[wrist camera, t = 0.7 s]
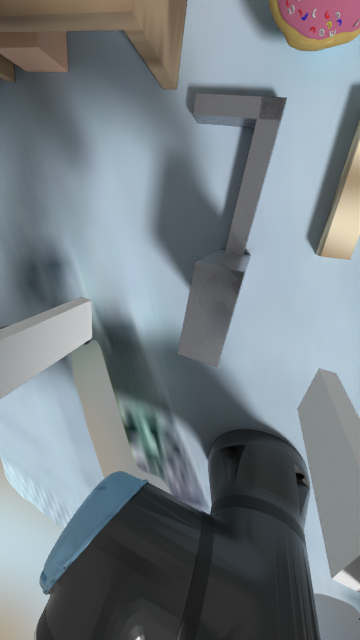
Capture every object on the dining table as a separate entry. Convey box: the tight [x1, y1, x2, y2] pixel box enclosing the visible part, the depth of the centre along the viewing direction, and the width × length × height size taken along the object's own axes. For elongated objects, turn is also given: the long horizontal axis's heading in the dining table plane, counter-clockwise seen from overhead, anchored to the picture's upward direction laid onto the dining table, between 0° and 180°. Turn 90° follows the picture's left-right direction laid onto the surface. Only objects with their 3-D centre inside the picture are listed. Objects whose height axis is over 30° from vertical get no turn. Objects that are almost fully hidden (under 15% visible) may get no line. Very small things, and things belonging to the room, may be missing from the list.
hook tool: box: [178, 93, 287, 367], centre depth 20 cm, size 21×9×12 cm, turn 170°
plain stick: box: [316, 119, 360, 260], centre depth 20 cm, size 12×2×2 cm, turn 175°
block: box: [0, 31, 68, 72], centre depth 23 cm, size 6×6×4 cm
